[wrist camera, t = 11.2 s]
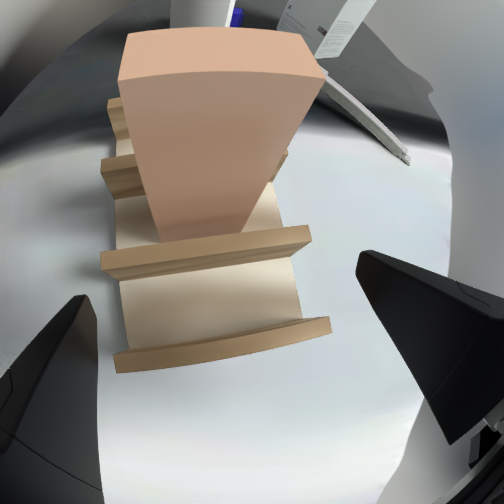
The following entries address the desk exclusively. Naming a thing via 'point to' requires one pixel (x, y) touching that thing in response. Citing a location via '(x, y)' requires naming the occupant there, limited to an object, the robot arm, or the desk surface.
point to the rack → (200, 277)
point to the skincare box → (324, 23)
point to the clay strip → (212, 119)
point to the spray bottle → (201, 13)
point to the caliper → (364, 117)
